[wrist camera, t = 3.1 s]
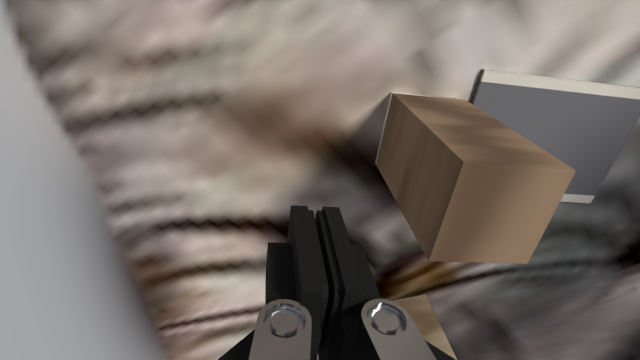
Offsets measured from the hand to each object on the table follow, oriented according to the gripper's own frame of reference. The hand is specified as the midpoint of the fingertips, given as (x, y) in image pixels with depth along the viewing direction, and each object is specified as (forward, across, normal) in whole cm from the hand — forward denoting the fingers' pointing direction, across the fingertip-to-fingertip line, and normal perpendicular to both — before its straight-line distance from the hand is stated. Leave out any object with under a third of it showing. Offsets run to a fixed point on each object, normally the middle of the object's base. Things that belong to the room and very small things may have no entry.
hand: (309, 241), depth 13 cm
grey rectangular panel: (+12, -18, 0) cm, 21 cm away
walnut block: (+12, -9, 0) cm, 15 cm away
